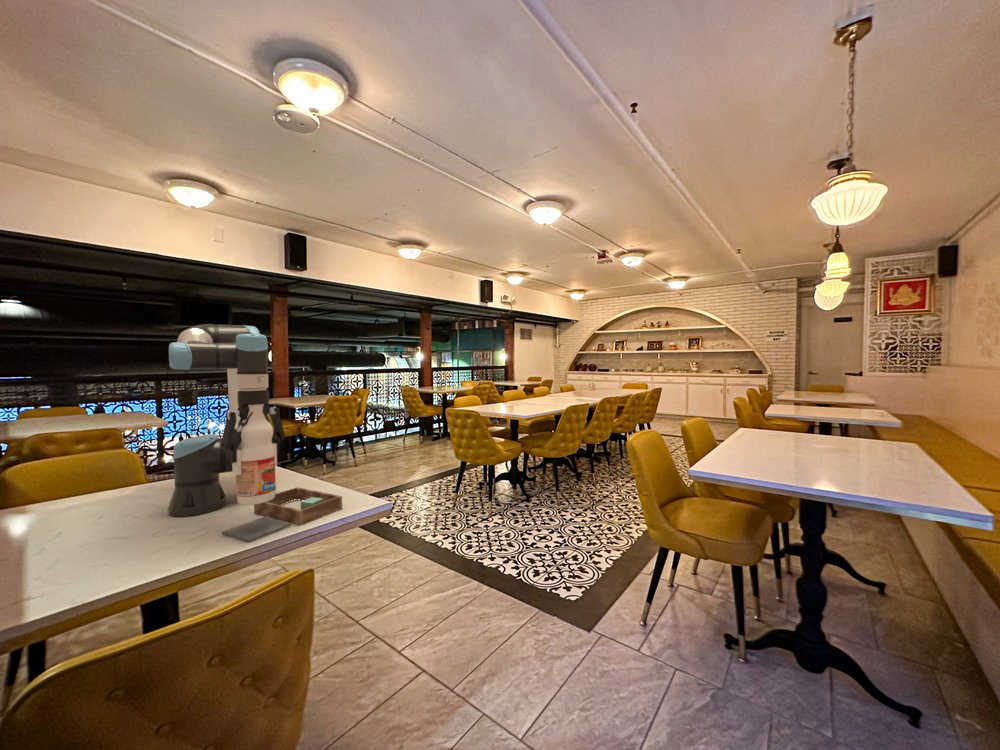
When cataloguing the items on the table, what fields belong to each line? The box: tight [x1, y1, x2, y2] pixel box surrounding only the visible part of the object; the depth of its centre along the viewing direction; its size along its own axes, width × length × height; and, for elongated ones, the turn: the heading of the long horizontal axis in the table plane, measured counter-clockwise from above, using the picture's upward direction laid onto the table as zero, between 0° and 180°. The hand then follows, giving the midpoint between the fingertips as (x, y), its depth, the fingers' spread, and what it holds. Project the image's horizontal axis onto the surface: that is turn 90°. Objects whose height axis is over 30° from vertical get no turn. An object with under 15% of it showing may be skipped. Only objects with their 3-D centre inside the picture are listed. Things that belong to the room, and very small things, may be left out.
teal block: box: [300, 497, 323, 510], centre depth 125 cm, size 4×4×4 cm
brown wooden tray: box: [253, 486, 343, 526], centre depth 128 cm, size 22×15×4 cm
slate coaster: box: [222, 516, 292, 543], centre depth 113 cm, size 12×12×1 cm
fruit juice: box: [235, 404, 277, 506], centre depth 113 cm, size 9×9×28 cm
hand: (255, 469), depth 113 cm, fingers closed on fruit juice, 9 cm apart
